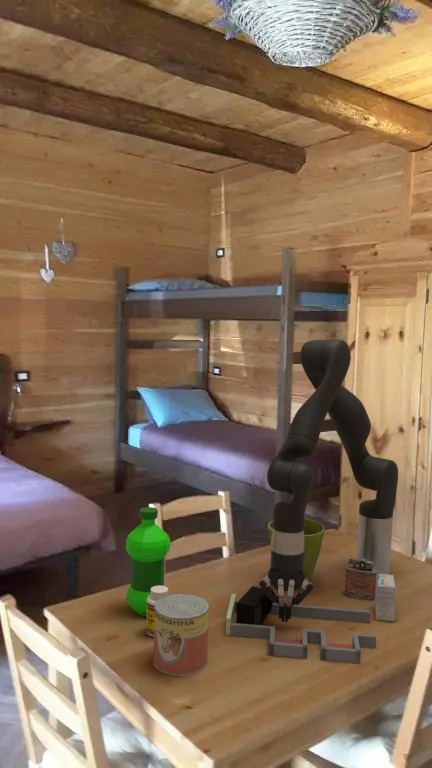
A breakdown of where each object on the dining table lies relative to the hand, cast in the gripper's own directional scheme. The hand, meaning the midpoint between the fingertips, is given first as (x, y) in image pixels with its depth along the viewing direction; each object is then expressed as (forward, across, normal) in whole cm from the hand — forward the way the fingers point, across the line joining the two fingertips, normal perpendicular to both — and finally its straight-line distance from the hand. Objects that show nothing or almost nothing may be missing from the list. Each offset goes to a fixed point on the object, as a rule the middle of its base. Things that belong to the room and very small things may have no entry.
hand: (284, 620), depth 151 cm
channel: (+2, -3, +3) cm, 5 cm away
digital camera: (+2, +7, 0) cm, 7 cm away
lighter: (+2, -19, -20) cm, 28 cm away
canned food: (+2, +21, +19) cm, 28 cm away
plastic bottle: (+2, +33, -2) cm, 33 cm away
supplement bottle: (+2, +28, +8) cm, 29 cm away
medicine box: (+2, -24, -11) cm, 26 cm away
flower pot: (+2, -2, -25) cm, 25 cm away
